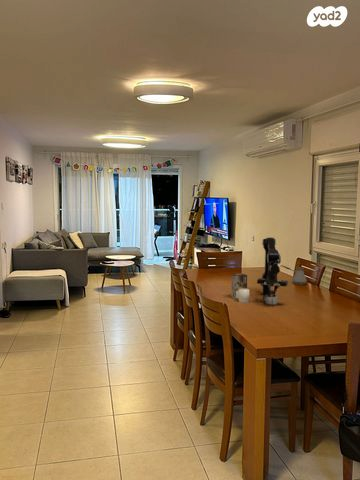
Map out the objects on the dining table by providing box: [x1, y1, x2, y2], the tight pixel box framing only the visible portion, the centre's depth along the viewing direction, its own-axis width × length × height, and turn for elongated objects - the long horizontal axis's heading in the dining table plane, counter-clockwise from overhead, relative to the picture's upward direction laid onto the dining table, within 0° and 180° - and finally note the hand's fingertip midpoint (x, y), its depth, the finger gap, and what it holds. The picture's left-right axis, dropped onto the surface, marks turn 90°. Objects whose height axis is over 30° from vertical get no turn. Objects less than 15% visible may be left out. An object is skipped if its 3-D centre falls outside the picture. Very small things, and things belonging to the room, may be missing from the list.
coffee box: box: [230, 273, 248, 300], centre depth 281 cm, size 9×6×16 cm
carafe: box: [262, 294, 279, 306], centre depth 266 cm, size 7×10×5 cm
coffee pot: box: [279, 264, 308, 286], centre depth 330 cm, size 21×12×15 cm, turn 88°
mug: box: [236, 288, 250, 304], centre depth 272 cm, size 7×9×8 cm
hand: (271, 295), depth 265 cm, fingers closed on plunger, 2 cm apart
